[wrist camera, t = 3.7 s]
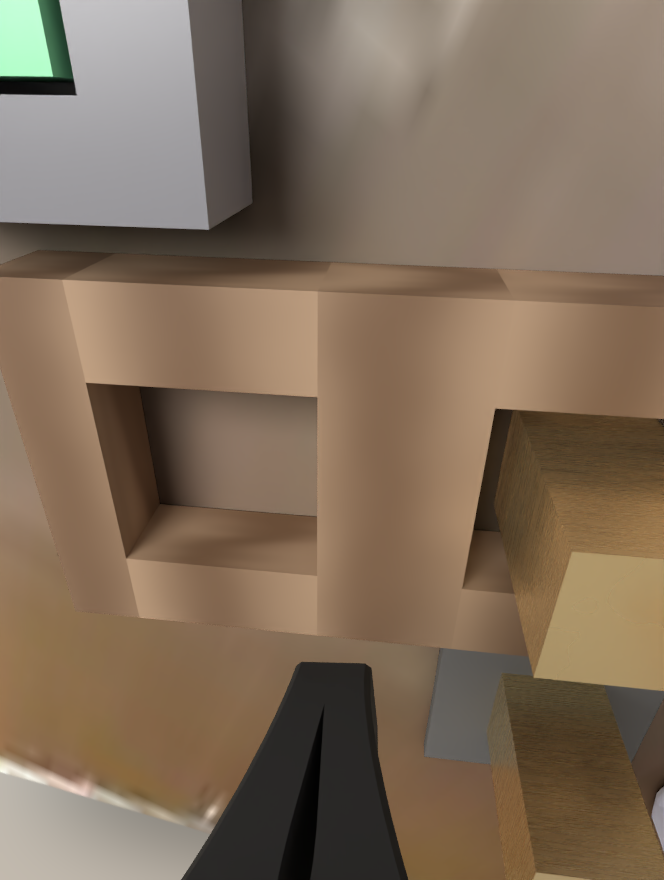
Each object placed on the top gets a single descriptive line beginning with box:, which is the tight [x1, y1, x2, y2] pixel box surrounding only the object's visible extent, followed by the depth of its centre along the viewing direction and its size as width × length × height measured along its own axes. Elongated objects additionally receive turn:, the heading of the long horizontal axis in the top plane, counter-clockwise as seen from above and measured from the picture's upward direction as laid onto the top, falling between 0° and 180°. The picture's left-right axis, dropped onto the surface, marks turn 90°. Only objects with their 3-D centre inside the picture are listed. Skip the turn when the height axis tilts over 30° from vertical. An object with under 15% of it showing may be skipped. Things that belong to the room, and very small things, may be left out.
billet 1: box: [494, 410, 664, 691], centre depth 15 cm, size 4×4×7 cm
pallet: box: [0, 250, 664, 657], centre depth 17 cm, size 22×12×3 cm, turn 89°
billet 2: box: [487, 673, 664, 880], centre depth 21 cm, size 4×4×7 cm
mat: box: [424, 648, 664, 764], centre depth 24 cm, size 9×9×1 cm
